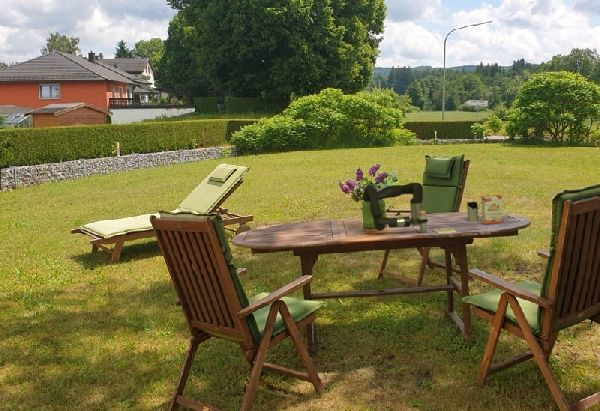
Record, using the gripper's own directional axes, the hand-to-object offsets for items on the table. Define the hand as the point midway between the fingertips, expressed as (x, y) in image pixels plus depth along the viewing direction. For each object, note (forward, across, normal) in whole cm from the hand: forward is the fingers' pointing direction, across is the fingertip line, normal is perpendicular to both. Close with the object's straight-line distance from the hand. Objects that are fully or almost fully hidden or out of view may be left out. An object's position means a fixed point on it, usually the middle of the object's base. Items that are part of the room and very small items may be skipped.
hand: (426, 220), depth 423 cm
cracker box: (+53, -20, -9) cm, 58 cm away
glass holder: (+46, -37, -9) cm, 60 cm away
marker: (-3, 0, -9) cm, 9 cm away
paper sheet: (+12, 0, -9) cm, 15 cm away
